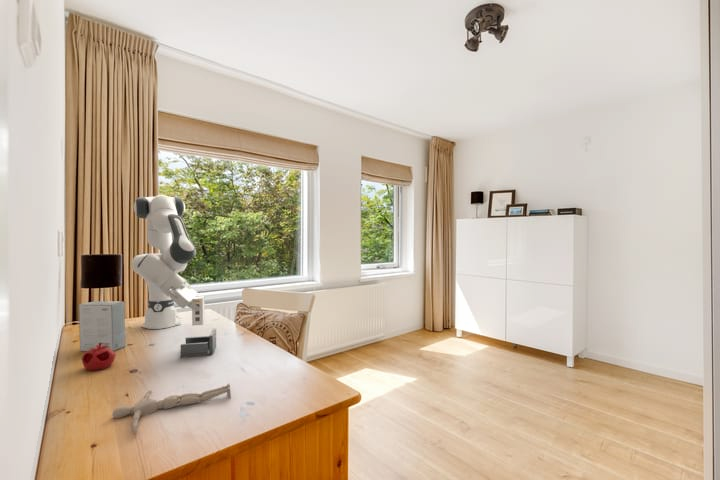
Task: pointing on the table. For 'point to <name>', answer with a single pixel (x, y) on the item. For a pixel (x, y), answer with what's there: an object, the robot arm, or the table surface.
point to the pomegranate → (98, 358)
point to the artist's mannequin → (166, 403)
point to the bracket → (199, 345)
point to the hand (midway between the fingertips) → (200, 308)
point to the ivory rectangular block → (198, 316)
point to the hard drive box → (102, 325)
